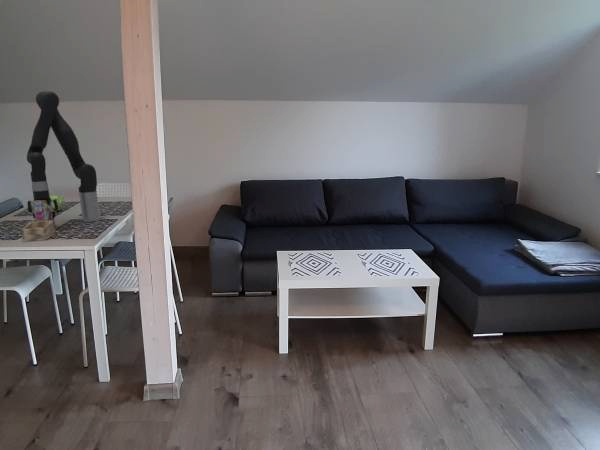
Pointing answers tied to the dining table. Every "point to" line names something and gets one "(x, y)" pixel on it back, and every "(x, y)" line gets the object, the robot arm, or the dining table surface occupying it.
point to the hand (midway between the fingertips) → (45, 218)
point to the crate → (37, 231)
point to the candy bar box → (42, 211)
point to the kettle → (57, 201)
